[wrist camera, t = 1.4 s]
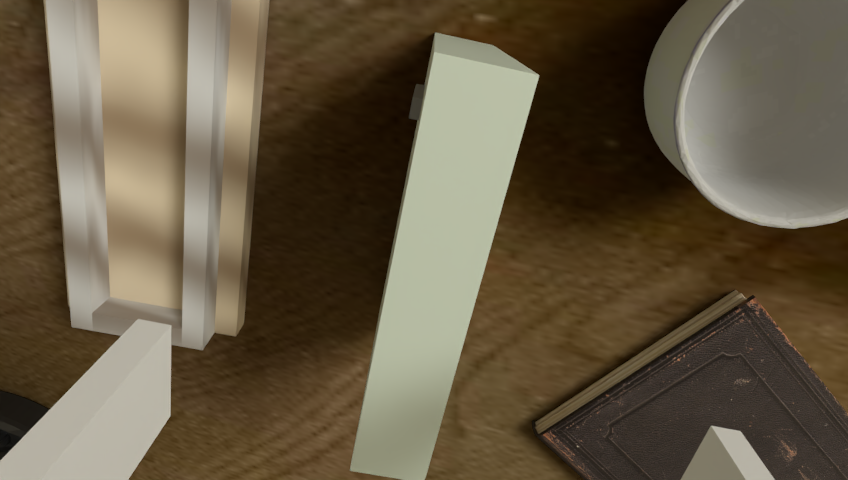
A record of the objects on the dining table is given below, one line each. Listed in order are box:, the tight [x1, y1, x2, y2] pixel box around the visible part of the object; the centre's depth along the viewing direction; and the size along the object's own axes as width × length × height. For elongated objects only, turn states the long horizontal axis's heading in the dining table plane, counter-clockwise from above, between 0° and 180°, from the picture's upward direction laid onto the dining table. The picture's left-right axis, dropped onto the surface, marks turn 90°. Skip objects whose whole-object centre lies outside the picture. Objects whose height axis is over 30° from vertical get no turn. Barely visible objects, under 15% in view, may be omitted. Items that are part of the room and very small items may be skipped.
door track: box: [44, 0, 269, 350], centre depth 27 cm, size 22×10×3 cm, turn 168°
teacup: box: [644, 0, 848, 229], centre depth 23 cm, size 14×11×8 cm
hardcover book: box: [532, 290, 848, 480], centre depth 37 cm, size 16×23×2 cm
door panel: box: [350, 33, 539, 480], centre depth 24 cm, size 16×3×13 cm, turn 168°
